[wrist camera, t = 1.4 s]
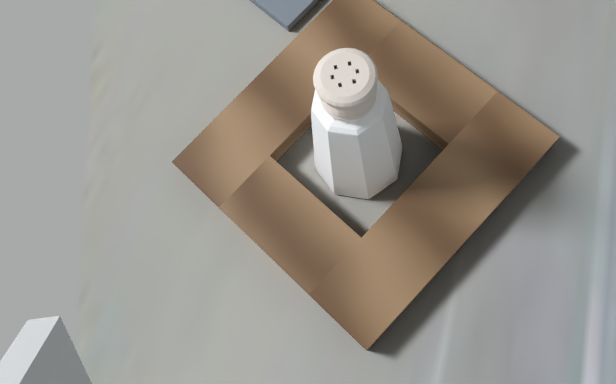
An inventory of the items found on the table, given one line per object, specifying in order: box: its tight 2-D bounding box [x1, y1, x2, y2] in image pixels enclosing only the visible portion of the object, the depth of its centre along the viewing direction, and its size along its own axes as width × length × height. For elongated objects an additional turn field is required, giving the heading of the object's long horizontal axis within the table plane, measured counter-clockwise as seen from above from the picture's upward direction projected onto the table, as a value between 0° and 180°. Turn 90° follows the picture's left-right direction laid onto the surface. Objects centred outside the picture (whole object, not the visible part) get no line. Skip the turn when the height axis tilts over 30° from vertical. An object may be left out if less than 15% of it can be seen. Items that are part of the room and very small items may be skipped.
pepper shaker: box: [311, 48, 403, 199], centre depth 30 cm, size 5×5×11 cm
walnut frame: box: [172, 0, 560, 351], centre depth 34 cm, size 16×16×2 cm
